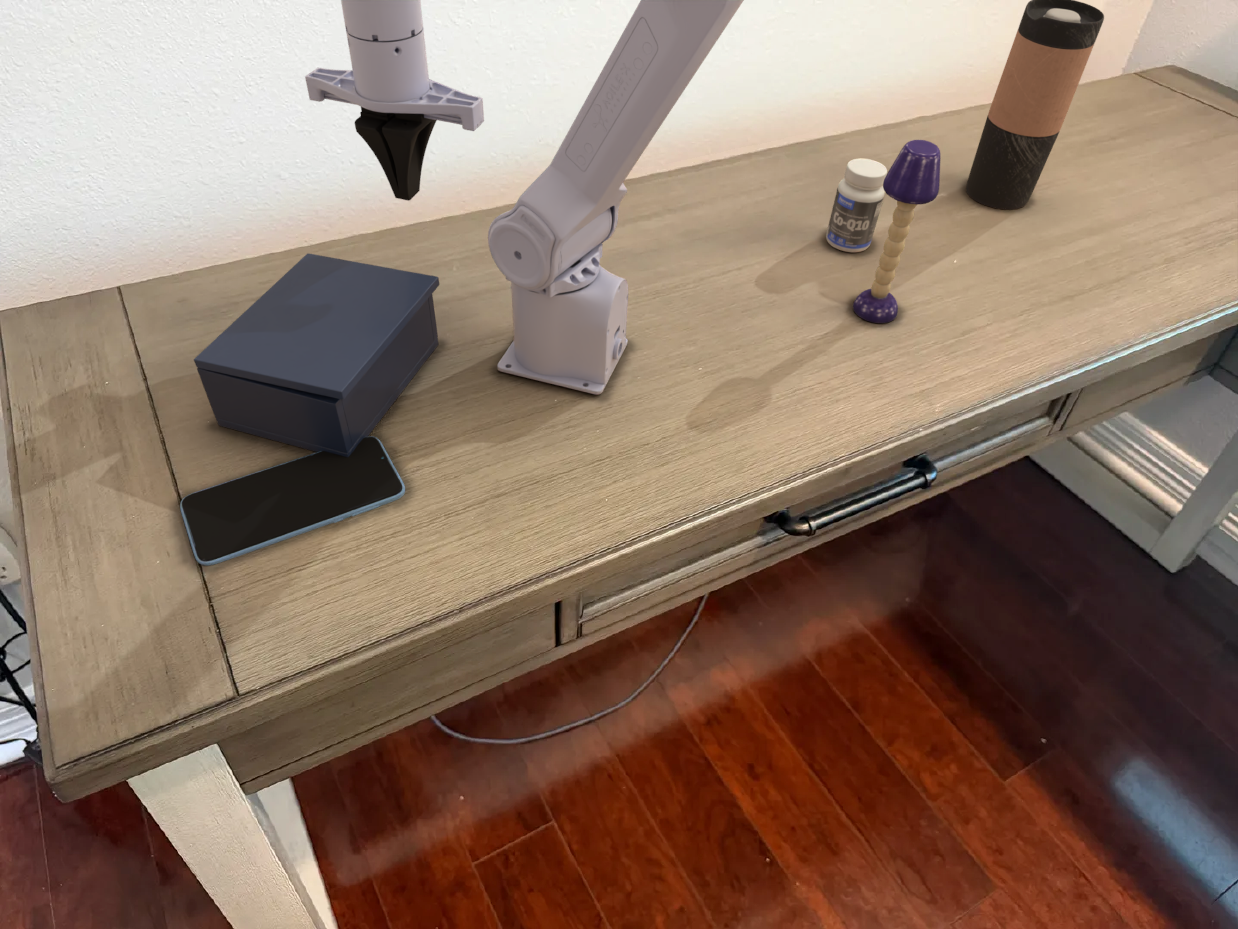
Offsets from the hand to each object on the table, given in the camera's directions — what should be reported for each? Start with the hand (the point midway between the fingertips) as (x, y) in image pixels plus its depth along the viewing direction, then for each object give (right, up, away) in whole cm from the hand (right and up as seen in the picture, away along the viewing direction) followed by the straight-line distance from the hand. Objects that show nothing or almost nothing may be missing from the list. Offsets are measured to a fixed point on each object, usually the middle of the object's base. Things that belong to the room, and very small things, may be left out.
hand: (407, 194), depth 77 cm
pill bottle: (+42, 0, +18) cm, 46 cm away
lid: (-5, -12, -6) cm, 15 cm away
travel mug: (+62, +8, +26) cm, 68 cm away
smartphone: (-6, -26, -11) cm, 29 cm away
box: (-6, -16, -2) cm, 17 cm away
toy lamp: (+43, -9, +9) cm, 44 cm away
